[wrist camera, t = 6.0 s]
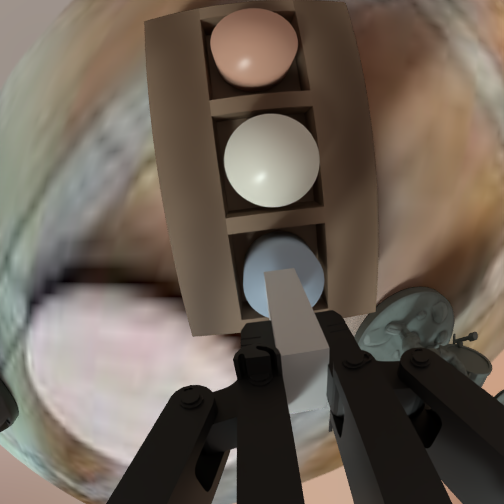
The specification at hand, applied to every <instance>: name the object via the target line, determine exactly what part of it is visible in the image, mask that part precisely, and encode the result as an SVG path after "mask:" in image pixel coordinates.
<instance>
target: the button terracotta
mask: <svg viewBox="0 0 504 504" xmlns="http://www.w3.org/2000/svg"><path fill="white" fill-rule="evenodd" d="M210 45H211V51H212V54H213V57H214V60H215V63H216V66H217V69H218V71H219V73H220V75H221V76H222V78H223V79H224V80H225V81H226V82H227V83H228V84H230V85H231V86H233V87H235V88H237V89H240V90H244V91H252V92H255V91H263V90H267V89H269V88H272V87H274V86H275V85H277V84H278V83H280V82H281V81H282V80H283V78H284V77H285V76H286V74H287V72H288V70H289V68H290V66H291V64H292V61H293V59H294V57H295V55H296V52H297V48H298V39H297V35H296V32H295V30H294V28H293V27H292V25H291V24H290V23H289V22H288V21H287V20H286V19H285V18H283V17H282V16H280V15H279V14H277V13H274V12H272V11H269V10H265V9H259V8H248V9H242V10H238V11H235V12H233V13H231V14H229V15H227V16H226V17H224V18H223V19H222V20H221V21H220V22H219V23H218V24H217V25H216V27H215V28H214V30H213V32H212V35H211V41H210Z"/></svg>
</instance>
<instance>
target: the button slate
mask: <svg viewBox="0 0 504 504" xmlns="http://www.w3.org/2000/svg"><path fill="white" fill-rule="evenodd" d="M290 268H294V269H295V271H296V273H297V275H298V278H299V280H300V282H301V284H302V286H303V289H304V291H305V293H306V295H307V298H308V300H309V302H310V304H311V306H312V307H313V306H314V305H315V304H316V303H317V301H318V300H319V298H320V296H321V294H322V291H323V287H324V273H323V269H322V267H321V265H320V263H319V261H318V260H317V258H316V257H315V255H314V254H313V252H312V251H311V249H310V248H309V247H308V245H307V244H306V243H305V241H303V240H302V239H301V238H300V237H298V236H297V235H295V234H292V233H290V232H285V231H275V232H270V233H267V234H264V235H262V236H261V237H259V238H258V239H256V240H255V241H254V242H253V243H252V244H251V246H250V247H249V249H248V250H247V252H246V255H245V259H244V276H243V288H244V293H245V296H246V299H247V301H248V303H249V304H250V305H251V307H252V308H253V309H254V310H255V311H257V312H258V313H260V314H261V315H263V316H265V317H268V318H269V313H268V304H267V296H266V287H265V279H264V272H267V271H275V270H282V269H290Z"/></svg>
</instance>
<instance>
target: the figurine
mask: <svg viewBox="0 0 504 504" xmlns="http://www.w3.org/2000/svg"><path fill="white" fill-rule="evenodd" d="M453 327H454V313H453V309H452V307H451V305H450V303H449V301H448V300H447V299H446V298H445V297H444V296H443V295H441V294H440V293H439V292H438V291H436V290H434V289H432V288H428V287H412V288H408V289H405V290H403V291H400V292H397V293H395V294H394V295H392V296H390V297H388V298H387V299H385V300H384V301H383V302H382V303H380V304H379V305H378V306H377V307H376V312H373V313H370V314H369V315H368V316H367V317H366V318H365V320H364V321H363V323H362V324H361V326H360V327H359V329H358V331H357V333H356V335H355V337H354V338H355V340H356V342H357V343H358V345H359V347H360V349H361V350H364V351H367V352H369V353H371V354H372V356H373V357H374V358H375V359H376V360H378V361H400V358H401V356H402V354H403V353H404V352H405V351H407V350H409V349H412V348H419V347H421V348H426V349H429V350H431V351H433V352H435V353H436V354H438V355H439V356H440V357H442V358H443V359H444V360H446V361H447V362H448V363H450V364H451V365H452V366H454V367H455V368H456V369H458V370H459V371H460V372H462V373H463V374H464V375H465V376H467V377H468V378H469V379H471V380H472V381H473V382H475V383H476V384H477V385H479V386H480V387H482V385H483V384H484V382H485V380H486V378H487V376H488V375H489V374H490V373H491V371H492V365H491V363H490V361H489V360H488V359H487V358H486V357H485V356H484V355H482V354H481V353H479V352H478V351H476V350H474V349H471V348H469V347H466V346H463V342H462V341H466V340H469V341H474V340H477V338H478V334H477V332H472V333H470V334H469V335H468V336H466V337H463V338H459V339H455V334H453V344H448V343H449V341H450V338H451V336H452V332H453ZM455 343H457V344H455ZM494 398H495V399H497V400H498V401H499V402H500V403H502V404H503V405H504V390H502V391H500V392H499V393H498V394H497V395H496V396H495V397H494Z"/></svg>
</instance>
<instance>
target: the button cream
mask: <svg viewBox="0 0 504 504" xmlns="http://www.w3.org/2000/svg"><path fill="white" fill-rule="evenodd" d="M319 164H320V158H319V151H318V147H317V144H316V142H315V140H314V138H313V136H312V135H311V133H310V132H309V131H308V130H307V129H306V128H305V127H304V126H303V125H302V124H301V123H299V122H298V121H296V120H294V119H292V118H290V117H288V116H284V115H280V114H263V115H258V116H255V117H253V118H250V119H248V120H247V121H245V122H244V123H242V124H241V125H240V126H239V127H238V128H237V129H236V130H235V131H234V132H233V134H232V135H231V137H230V139H229V141H228V143H227V146H226V149H225V154H224V165H225V171H226V174H227V177H228V179H229V181H230V183H231V185H232V186H233V188H234V189H235V190H236V191H237V192H238V194H240V195H241V196H242V197H243V198H245V199H246V200H248V201H250V202H252V203H254V204H257V205H259V206H264V207H281V206H285V205H288V204H291V203H293V202H295V201H297V200H299V199H300V198H301V197H303V196H304V195H305V194H306V193H307V192H308V191H309V190H310V188H311V187H312V186H313V184H314V182H315V180H316V178H317V175H318V171H319Z"/></svg>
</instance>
